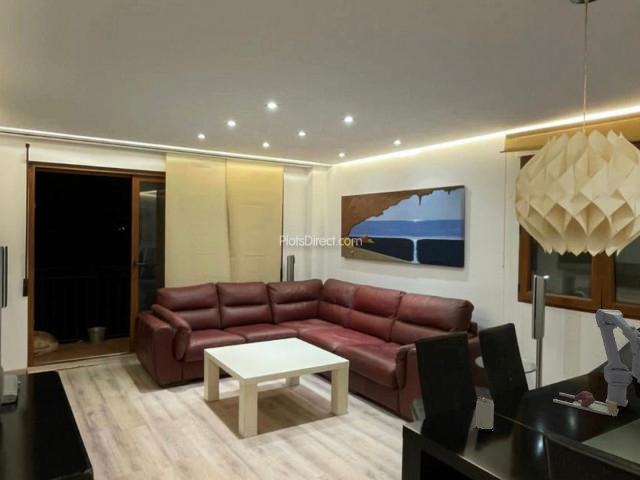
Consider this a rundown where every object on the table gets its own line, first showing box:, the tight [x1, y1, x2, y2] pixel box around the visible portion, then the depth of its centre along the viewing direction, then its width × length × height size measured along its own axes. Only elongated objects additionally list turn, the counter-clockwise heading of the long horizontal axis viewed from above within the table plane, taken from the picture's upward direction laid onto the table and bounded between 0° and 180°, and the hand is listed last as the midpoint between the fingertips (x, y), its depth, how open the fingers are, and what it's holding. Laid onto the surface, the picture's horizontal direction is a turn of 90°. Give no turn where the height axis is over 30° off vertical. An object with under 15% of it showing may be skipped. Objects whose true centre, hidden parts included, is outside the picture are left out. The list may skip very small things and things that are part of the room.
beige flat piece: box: [572, 400, 620, 417], centre depth 199 cm, size 10×17×4 cm, turn 50°
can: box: [475, 396, 495, 429], centre depth 173 cm, size 6×6×12 cm
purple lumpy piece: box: [573, 390, 596, 407], centre depth 202 cm, size 10×5×7 cm, turn 169°
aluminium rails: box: [552, 392, 608, 416], centre depth 203 cm, size 13×21×1 cm, turn 50°
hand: (638, 394), depth 191 cm, fingers open, 7 cm apart
